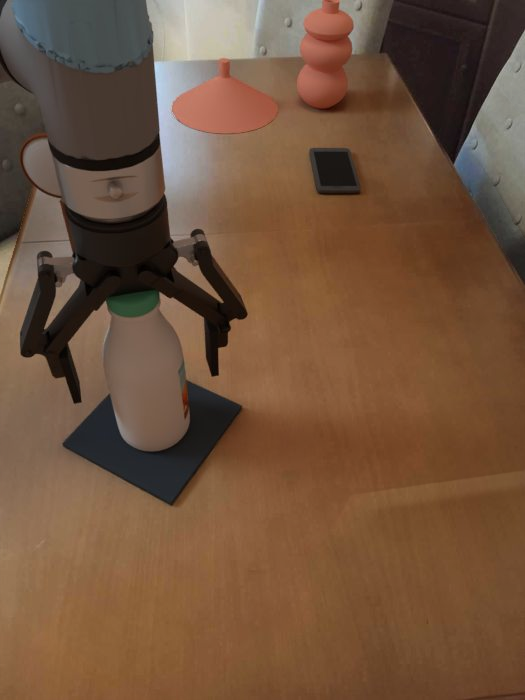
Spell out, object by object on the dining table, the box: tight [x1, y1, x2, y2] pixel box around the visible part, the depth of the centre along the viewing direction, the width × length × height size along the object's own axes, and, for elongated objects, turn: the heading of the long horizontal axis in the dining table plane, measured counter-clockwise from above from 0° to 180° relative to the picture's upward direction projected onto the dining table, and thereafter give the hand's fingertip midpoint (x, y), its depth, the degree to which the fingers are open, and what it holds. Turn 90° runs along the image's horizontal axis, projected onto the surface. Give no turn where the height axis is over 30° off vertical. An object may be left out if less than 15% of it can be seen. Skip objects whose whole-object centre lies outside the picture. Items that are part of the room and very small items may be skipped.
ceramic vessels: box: [171, 0, 355, 135], centre depth 112 cm, size 35×21×19 cm, turn 100°
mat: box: [61, 379, 243, 507], centre depth 66 cm, size 14×14×1 cm
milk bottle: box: [101, 289, 190, 452], centre depth 58 cm, size 8×8×20 cm
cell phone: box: [308, 147, 362, 194], centre depth 103 cm, size 7×14×1 cm, turn 3°
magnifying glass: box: [19, 132, 74, 254], centre depth 77 cm, size 9×2×20 cm, turn 85°
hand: (146, 379), depth 60 cm, fingers open, 13 cm apart
